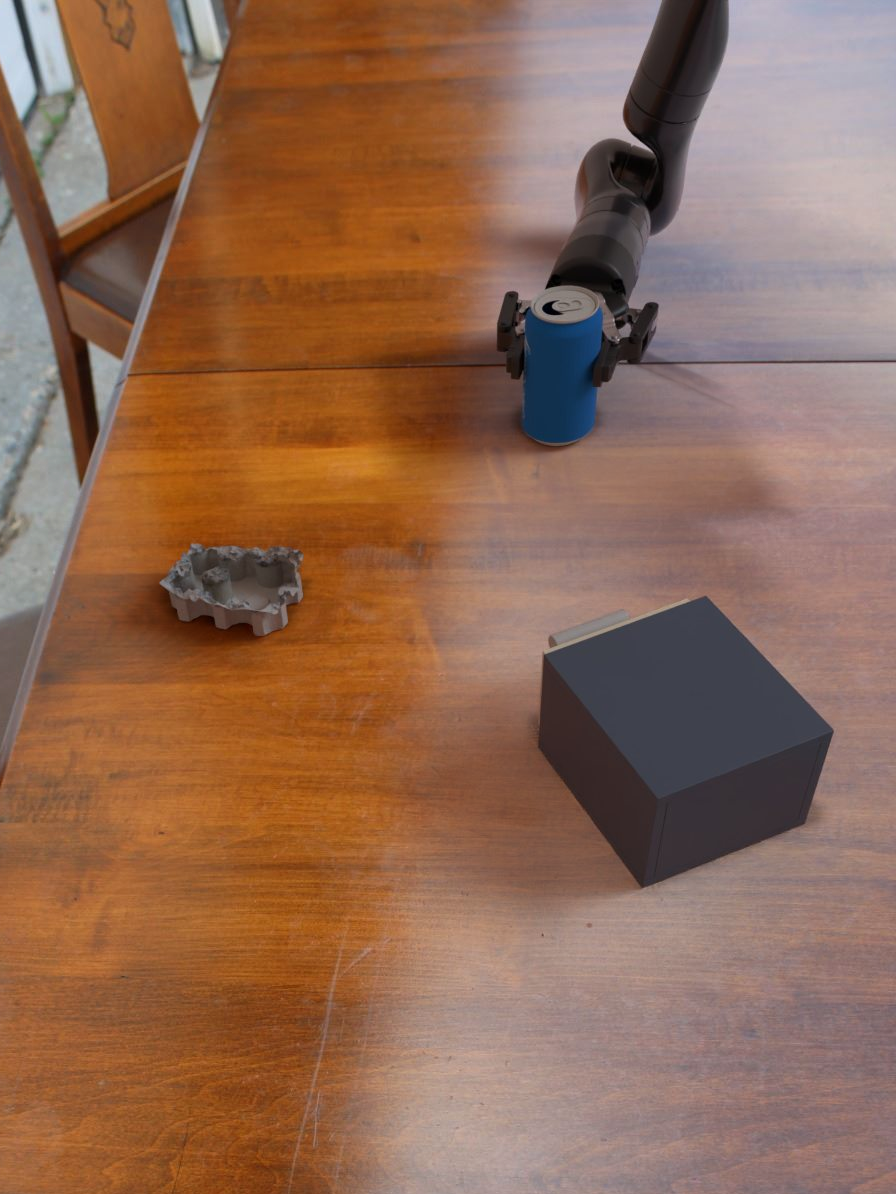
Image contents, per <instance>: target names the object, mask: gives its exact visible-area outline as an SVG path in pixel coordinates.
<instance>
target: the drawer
mask: <svg viewBox="0 0 896 1194" xmlns="http://www.w3.org/2000/svg"><path fill="white" fill-rule="evenodd" d="M689 601H690V600H689V598H684V599H681V600H679V601H676V602H673V603H670V604H667V605H665V606H662V607H660V608H657V609H655V610H651V611H648V612H646V613H643V614H640V615H637V616H635V617H631V618H630V616H629V613H628V612H627V611H626V609H624V608H621V609H619V610H616V611H614V612H611V613H608V614H604V615H602V616H600V617H596V618H593V619H591V620H588V621H586V622H583V623H580V624H577V625H574V626H572V627H569V628H566V629H564V630H561V631H558V632H556V633H552V634H550V635H549V636H548V638H547V641H548V646H549V648H547V649H544V650H542V652H541V653H542V655H541V672H540V685H539V687H540V688H539V703H538V720H537V726H538V727H539V724H540V708H541V692H542V676H543V664H544V663H543V659H544V654H547V653H550V652H552V651H555V650H558V649H561V648H563V647H566V646H569V645H572V644H574V643H577V642H580V641H583V640H585V639H588V638H591V637H593V636H596V635H599V634H602V633H604V632H607V631H610V630H613V629H615V628H618V627H621V626H624V625H626V624H629V623H632V622H635V621H637V620H640V619H643V618H646V617H648V616H651V615H654V614H657V613H659V612H662V611H665V610H668V609H670V608H673V607H676V606H678V605H681V604H684V603H687V602H689Z"/></svg>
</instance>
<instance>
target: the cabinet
mask: <svg viewBox="0 0 896 1194" xmlns="http://www.w3.org/2000/svg"><path fill="white" fill-rule="evenodd" d="M543 663H544V664H543V676H542V692H541V708H540V724H539V726H538V727H539V728H538V740H537V748H538V749H539V750H540V752H541V754H543V756H544V757H545V759H546V760H547V762H548V763H549V764H550V766H551V767H552V768H553V770H554V771H555V772H556V774H557V775H558V777H560V780H561V781H562V782H563V783H564V784H565V786H566V787H567V789H568V790H569V791H570V793H571V794H572V795H573V797H574V798H575V799H576V800H577V802H578V803H579V805H580V806H581V808H582V809H583V810H584V812H585V813H586V814H587V816H588V817H589V819H590V820H591V821H592V823H593V824H594V825H595V826H596V829H598V831H599V832H600V833H601V835H602V836H603V837H604V839H605V840H606V841H607V843H608V844H609V846H610V847H611V848H612V850H613V851H614V852H615V854H616V855H617V857H618V858H619V859H620V861H621V862H622V863H623V864H624V866H625V867H626V869H627V870H628V871H629V873H630V874H631V876H632V877H633V878H634V879H635V881H636V882H637V884H638V885H639V886H640V888H641V889H645V888H648V887H649V886H650V887H651V886H652V885H655V884H657V883H660V882H663V881H664V880H667V879H670V878H673V877H675V876H677V875H680V874H682V873H685V872H687V871H690V870H692V869H695V868H697V867H701V866H702V865H704V864H707V863H710V862H712V861H715V860H717V859H720V858H722V857H725V856H728V855H730V854H733V853H735V852H737V851H740V850H742V849H745V848H747V847H751V846H752V845H755V844H757V843H760V842H763V841H764V840H768V839H771V838H773V837H775V836H777V835H780V834H782V833H784V832H788V831H790V830H793V829H795V828H798V827H800V826H802V825H805V824H806V822H807V818H808V815H809V812H810V809H811V805H812V803H813V800H814V796H815V793H816V790H817V788H818V783H819V780H820V778H821V775H822V771H823V768H824V764H825V761H826V759H827V756H828V752H829V750H830V749H829V748H830V746H831V742H832V739H833V736H834V732H835V729H834V728H833V727H832V726H831V725H830V724H829V723H828V722H827V721H826V720H825V719H824V718H823V717H822V715H820V713H818V711H817V710H816V709H815V708H814V707H813V706H812V705H811V704H810V703H809V702H808V701H807V700H806V699H805V698H804V696H802V695H801V693H799V692H798V690H797V689H796V688H795V687H794V686H793V685H792V684H791V683H790V682H789V681H788V680H787V679H786V678H785V677H784V676H783V674H782V673H780V672H779V670H778V669H777V668H776V667H775V666H774V665H773V664H772V662H770V661H769V660H768V659H767V658H766V656H765V655H764V654H763V653H762V652H760V651H759V649H758V648H756V646H755V645H754V644H753V643H752V642H751V640H749V639H748V638H747V637H746V636H745V634H743V632H742V631H741V630H739V628H737V626H736V625H735V624H734V623H733V622H732V621H731V620H730V619H729V618H728V617H727V616H726V615H725V613H723V612H722V610H721V609H720V608H719V607H718V606H717V605H716V604H715V603H714V602H713V601H712V600H711V599H710V598H709V597H708V596H707V595H703V596H701V597H698V598H695V599H693V600H689V602H687V603H684V604H681V605H678V606H676V607H673V608H670V609H668V610H665V611H662V612H659V613H657V614H654V615H651V616H648V617H646V618H643V619H640V620H637V621H635V622H632V623H629V624H626V625H624V626H621V627H618V628H615V629H613V630H610V631H607V632H604V633H602V634H599V635H596V636H593V637H591V638H588V639H585V640H583V641H580V642H577V643H574V644H572V645H569V646H566V647H563V648H561V649H558V650H555V651H552V652H550V653H547V654H544V659H543Z"/></svg>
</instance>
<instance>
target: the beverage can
mask: <svg viewBox="0 0 896 1194" xmlns="http://www.w3.org/2000/svg"><path fill="white" fill-rule="evenodd" d="M531 300H532V301H531V307H530V309H529V310H528V312H527V314H526V317H525V320H524V322H525V338H524V366H523V372H522V394H521V395H522V399H521V421H520V422H521V423H520V424H521V428H522V431H523V432H524V434H526V435H527V436H528V437H529V438H531V439H533V440H534V441H536V442H538V443H539V444H542V445H545V446H551V447H563V446H564V447H565V446H568V445H571V444H574V443H576V442H577V441H580V439H583V438H584V437H586V436H587V435H588V434H590V432H591V431H592V430H593V428H594V426H595V421H596V420H595V419H596V409H597V396H598V387H592V383H593V371H594V365H595V361H596V359H597V356H598V353H599V351H600V349H601V339H602V327H603V313H602V310H601V308H600V306H599V299H598V297H597V296H596V294H594V293H593V292H592V291H590V290H588V289H585V288H582V287H577V286H557V287H552V288H549V289H546V290H545V289H543V290H542V291H539V292H538V293H537V294H536V295H534V296H533V298H532V299H531Z"/></svg>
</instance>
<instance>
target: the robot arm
mask: <svg viewBox="0 0 896 1194" xmlns="http://www.w3.org/2000/svg"><path fill="white" fill-rule="evenodd" d="M729 34H730V5H729V0H661V2H660V6H659V9H658V12H657V15H656V19H655V21H654V23H653V27H652V29H651V32H650V34H649V38H648V40H647V43H646V45H645V48H644V50H643V53H642V55H641V58H640V60H639V63H638V66H637V69H636V71H635V73H634V76H633V78H632V81H631V84H630V86H629V88H628V92H627V95H626V96H625V100H624V103H623V107H622V121H623V124H624V126H625V128H626V129H627V131H628V132H629V133H630V134H631V135H632V136H633V137H634V138H635V139H637V141H639V142H640V143H642V144H643V145H644V146H645V147H646V148H648V149H646V148H643V147H641V146H638V145H636V144H633V143H630V142H629V141H626V140H623V139H620V138H615V137H609V138H604V139H602V140H599V141H597V142H596V143H595V144H593V145H592V146H591V147H590V148H589V149H588V150H587V152H586V153H585V155H584V156H583V158H582V160H581V162H580V164H579V167H578V170H577V173H576V177H575V184H574V211H575V217H576V220H575V223H574V226H573V228H572V230H571V231H570V233H569V234H568V236H567V238H566V239H565V241H564V243H563V244H562V247H561V249H560V252H559V254H558V256H557V259H556V260H555V261H556V262H555V263H554V266H553V268H552V270H551V273H550V275H549V277H548V279H547V282H546V284H545V288H544V290H546V289H549V288H552V287H557V286H577V287H582V288H585V289H588V290H590V291H592V292H593V293H594V294H596V296H597V297H598V299H599V306H600V308H601V310H602V313H603V327H602V339H601V349H600V351H599V353H598V356H597V359H596V361H595V365H594V371H593V383H592V387H597V388H602V385H603V383H609V382H610V381H611V380H612V378H613V375H614V372H615V370H616V366H618V365H619V363H620V362H621V361H626V362H627V363H628V364H629V365H638V364H640V363H641V362H642V360H643V358H644V356H645V354H646V353H647V350H648V348H649V346H650V344H651V342H652V340H653V338H654V336H655V334H656V332H657V323H658V315H659V308H660V307H659V306H660V305H659V303H658V302H655V301H648V302H646V303H645V304H644V306H643V307H642V309H641V308H631V307H630V305H629V301H630V299H631V296H632V293H633V290H634V289H635V287H636V285H637V282H638V279H639V274H640V270H641V265H642V257H643V254H644V251H645V248H646V246H647V244H648V240H649V238H650V237H652V236H655V235H657V234H660V233H662V232H663V231H665V229H667V228H668V227H669V226H670V224H671V223H673V221H674V219H675V217H676V215H677V213H678V211H679V209H680V205H681V203H682V198H683V192H684V189H685V188H684V187H685V182H686V181H685V180H686V172H687V162H688V158H689V157H688V156H689V151H690V146H691V142H692V139H693V136H694V132H695V129H696V126H697V125H698V121H699V118H700V117H701V114H702V112H703V110H704V107H705V105H706V102H707V100H708V99H709V96H710V94H711V92H712V89H713V88H714V85H715V83H716V80H717V77H719V76H718V75H719V73H720V70H721V68H722V65H723V62H724V59H725V56H726V51H727V48H728V44H729V36H730V35H729ZM531 301H532V299H531V300H529V299H519V292H518V291H515V290H510V291H509V290H508V291H506V292H505V294H504V297H503V300H502V304H501V308H500V311H499V315H498V318H497V322H496V351H497V352H499V353H506V356H505V370H506V373H507V374H510V379H511V380H518V381H519V380H520V379H521V377H522V376H523V366H524V338H525V317H526V314H527V312H528V310H529V309H530V307H531ZM627 324H628V325H629V326H630V330H631V331H630V332H629V336H624V337H623V336H622V334H621V333H620V331H619V330H621V329H622V328H624V327H625V326H626V325H627Z"/></svg>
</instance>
